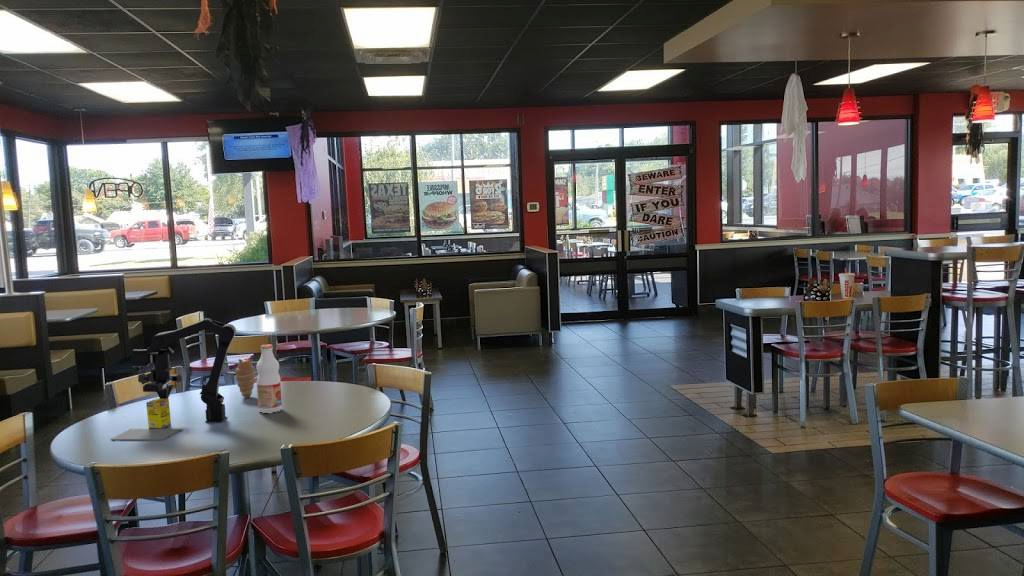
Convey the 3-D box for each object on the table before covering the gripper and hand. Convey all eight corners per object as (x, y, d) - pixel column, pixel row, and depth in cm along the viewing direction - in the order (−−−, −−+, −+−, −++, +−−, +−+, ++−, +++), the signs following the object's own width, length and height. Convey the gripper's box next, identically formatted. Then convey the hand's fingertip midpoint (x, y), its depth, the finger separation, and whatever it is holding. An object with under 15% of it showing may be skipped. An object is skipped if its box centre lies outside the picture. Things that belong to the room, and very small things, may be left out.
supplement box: (162, 430, 293) (159, 403, 292) (148, 429, 295) (145, 402, 293) (171, 425, 299) (169, 398, 298) (158, 424, 300) (155, 398, 299)
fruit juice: (257, 410, 321) (253, 344, 318) (280, 407, 325) (276, 342, 322) (260, 415, 312) (256, 348, 309) (283, 412, 316) (280, 345, 313)
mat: (180, 430, 293) (180, 428, 293) (163, 440, 280) (163, 439, 280) (130, 430, 294) (130, 428, 294) (110, 440, 281) (110, 439, 281)
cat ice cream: (252, 394, 348) (250, 355, 347) (260, 397, 343) (257, 358, 341) (233, 398, 342) (231, 358, 341) (241, 401, 337) (238, 361, 335)
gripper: (154, 360, 308) (157, 398, 310) (128, 370, 290) (130, 410, 292) (181, 360, 308) (183, 398, 309) (156, 370, 289) (158, 410, 291)
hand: (164, 404), depth 300 cm, fingers closed
